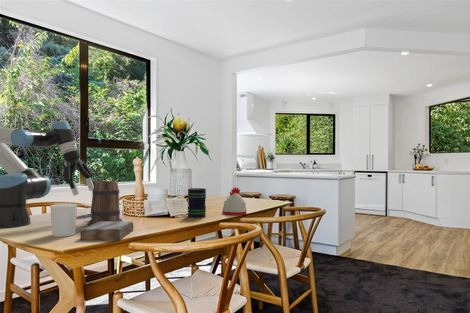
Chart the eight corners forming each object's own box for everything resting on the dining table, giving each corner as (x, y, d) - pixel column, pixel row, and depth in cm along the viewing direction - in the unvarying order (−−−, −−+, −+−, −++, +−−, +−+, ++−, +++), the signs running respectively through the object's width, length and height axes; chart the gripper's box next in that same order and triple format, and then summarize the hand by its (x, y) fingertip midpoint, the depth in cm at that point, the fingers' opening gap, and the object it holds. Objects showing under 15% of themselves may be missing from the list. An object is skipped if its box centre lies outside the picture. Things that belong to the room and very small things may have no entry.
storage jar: (184, 217, 187) (184, 189, 187) (191, 214, 196) (191, 188, 197) (202, 218, 184) (202, 189, 185) (208, 215, 194) (208, 188, 194)
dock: (80, 239, 133) (80, 229, 133) (98, 230, 151) (98, 221, 151) (120, 240, 133) (120, 229, 133) (133, 230, 151) (133, 221, 151)
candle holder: (66, 238, 136) (66, 207, 136) (44, 236, 138) (44, 206, 138) (82, 232, 146) (82, 204, 146) (61, 231, 148) (61, 203, 148)
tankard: (130, 224, 166) (130, 182, 166) (93, 228, 155) (94, 183, 155) (110, 218, 183) (111, 179, 184) (76, 221, 172) (77, 180, 172)
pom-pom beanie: (251, 213, 204) (251, 187, 204) (235, 216, 194) (235, 188, 194) (234, 210, 213) (234, 186, 213) (217, 213, 203) (217, 187, 203)
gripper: (60, 150, 160) (76, 194, 161) (90, 148, 185) (104, 186, 185) (46, 155, 162) (62, 199, 162) (78, 153, 186) (91, 190, 186)
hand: (84, 192), depth 173 cm, fingers open, 13 cm apart
